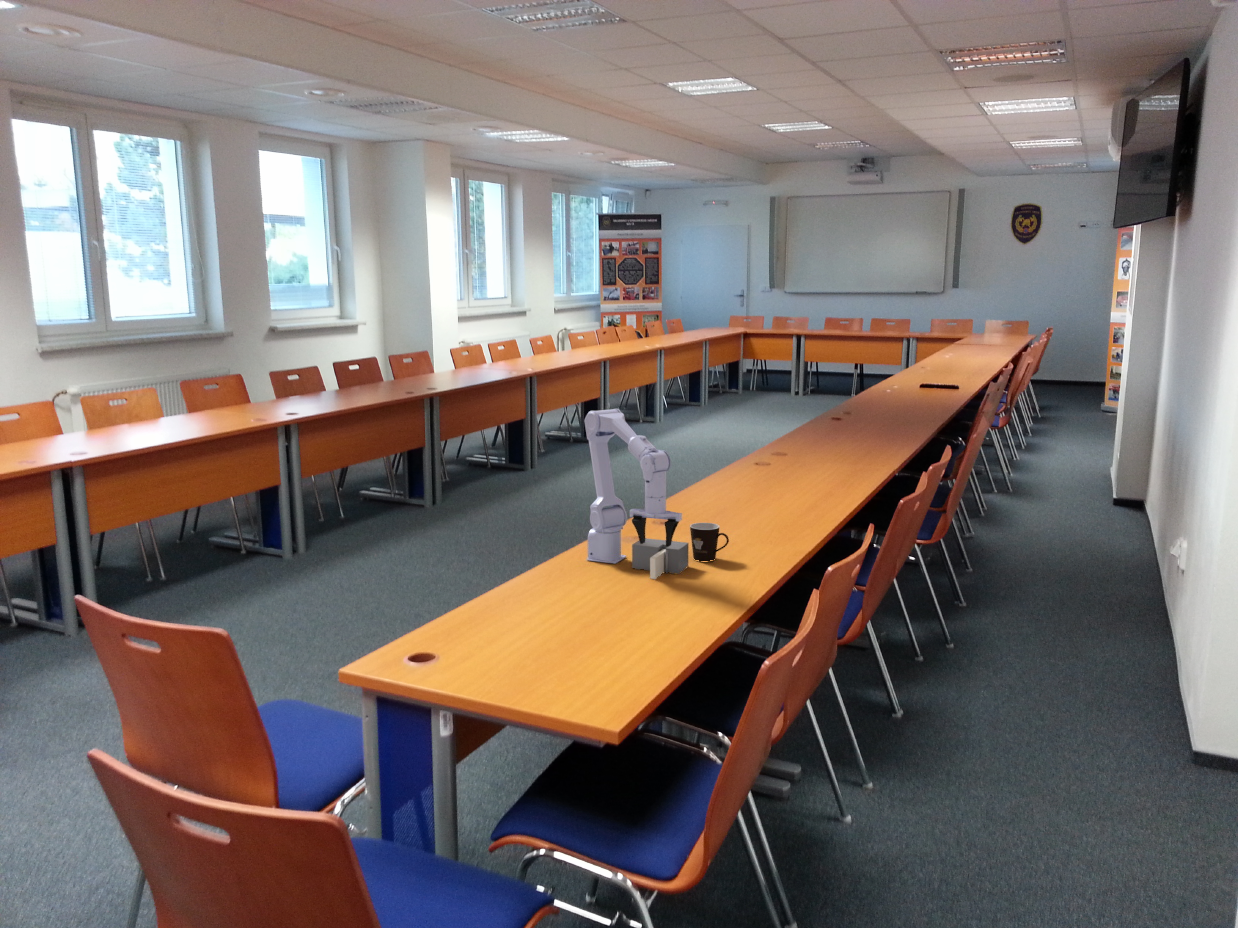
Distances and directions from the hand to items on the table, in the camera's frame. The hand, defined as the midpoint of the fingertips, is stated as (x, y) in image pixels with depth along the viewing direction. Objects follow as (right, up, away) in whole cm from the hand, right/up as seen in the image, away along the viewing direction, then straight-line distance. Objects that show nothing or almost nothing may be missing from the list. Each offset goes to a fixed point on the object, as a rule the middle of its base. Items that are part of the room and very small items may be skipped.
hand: (655, 544), depth 254 cm
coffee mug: (+16, -6, +17) cm, 24 cm away
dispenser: (+2, -8, +11) cm, 13 cm away
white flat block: (+1, -9, +4) cm, 10 cm away
